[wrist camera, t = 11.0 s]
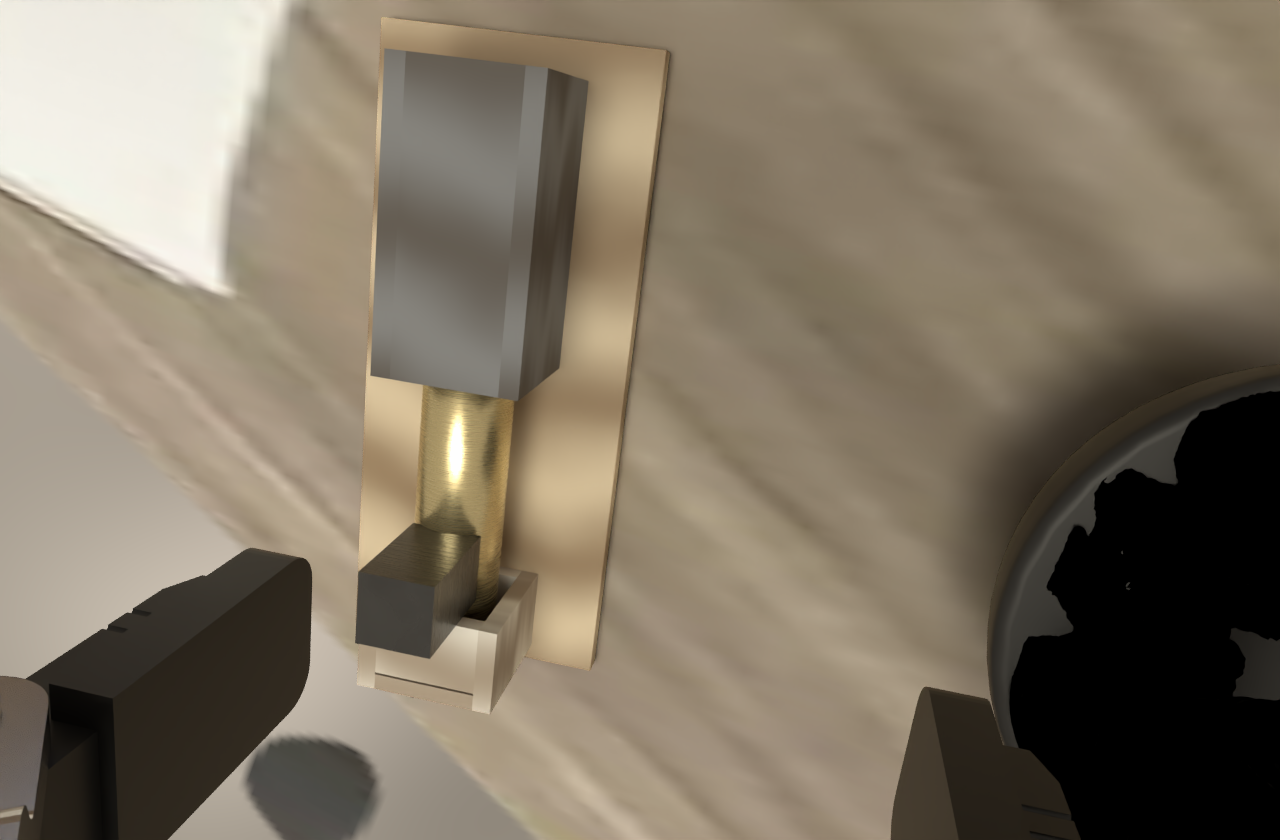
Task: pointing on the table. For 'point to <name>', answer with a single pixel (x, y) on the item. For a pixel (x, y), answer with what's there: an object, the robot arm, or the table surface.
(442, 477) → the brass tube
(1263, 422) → the coal bowl
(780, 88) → the table surface
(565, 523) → the tube stand
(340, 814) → the table surface
